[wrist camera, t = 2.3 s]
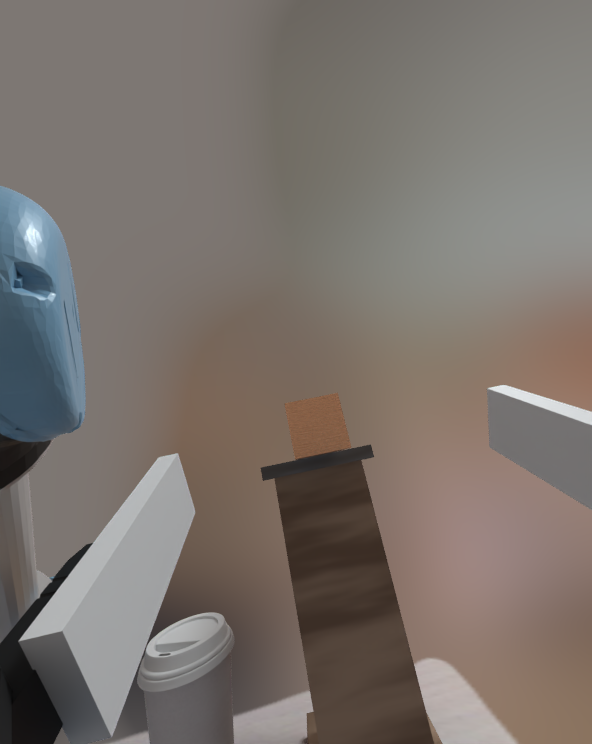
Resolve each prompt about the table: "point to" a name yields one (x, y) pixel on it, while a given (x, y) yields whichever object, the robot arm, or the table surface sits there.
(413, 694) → the post
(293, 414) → the wood grain block
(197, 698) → the coffee cup
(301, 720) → the table surface
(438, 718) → the table surface
